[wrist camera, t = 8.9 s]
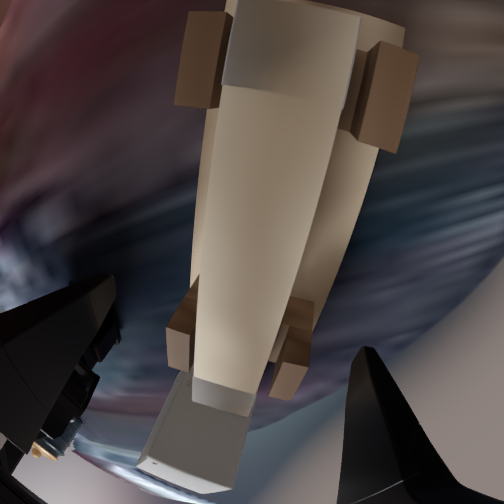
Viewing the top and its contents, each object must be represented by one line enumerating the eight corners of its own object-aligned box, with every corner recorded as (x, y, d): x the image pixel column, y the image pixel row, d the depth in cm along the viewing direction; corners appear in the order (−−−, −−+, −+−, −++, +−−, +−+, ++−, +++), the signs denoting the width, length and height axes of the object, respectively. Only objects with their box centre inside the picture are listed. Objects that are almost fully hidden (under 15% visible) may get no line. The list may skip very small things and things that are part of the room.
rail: (215, 346, 21) (192, 400, 17) (266, 29, 10) (237, -4, 6) (262, 359, 20) (247, 417, 16) (346, 45, 10) (362, 17, 6)
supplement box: (176, 373, 31) (132, 465, 20) (198, 342, 27) (145, 456, 17) (232, 402, 32) (201, 495, 21) (264, 376, 28) (233, 491, 17)
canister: (64, 402, 53) (31, 454, 38) (91, 429, 59) (64, 477, 44) (37, 387, 56) (6, 433, 41) (62, 415, 62) (36, 457, 47)
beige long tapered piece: (192, 324, 26) (161, 384, 20) (233, -3, 12) (186, -46, 7) (299, 354, 25) (289, 421, 19) (401, 31, 12) (445, -1, 6)
